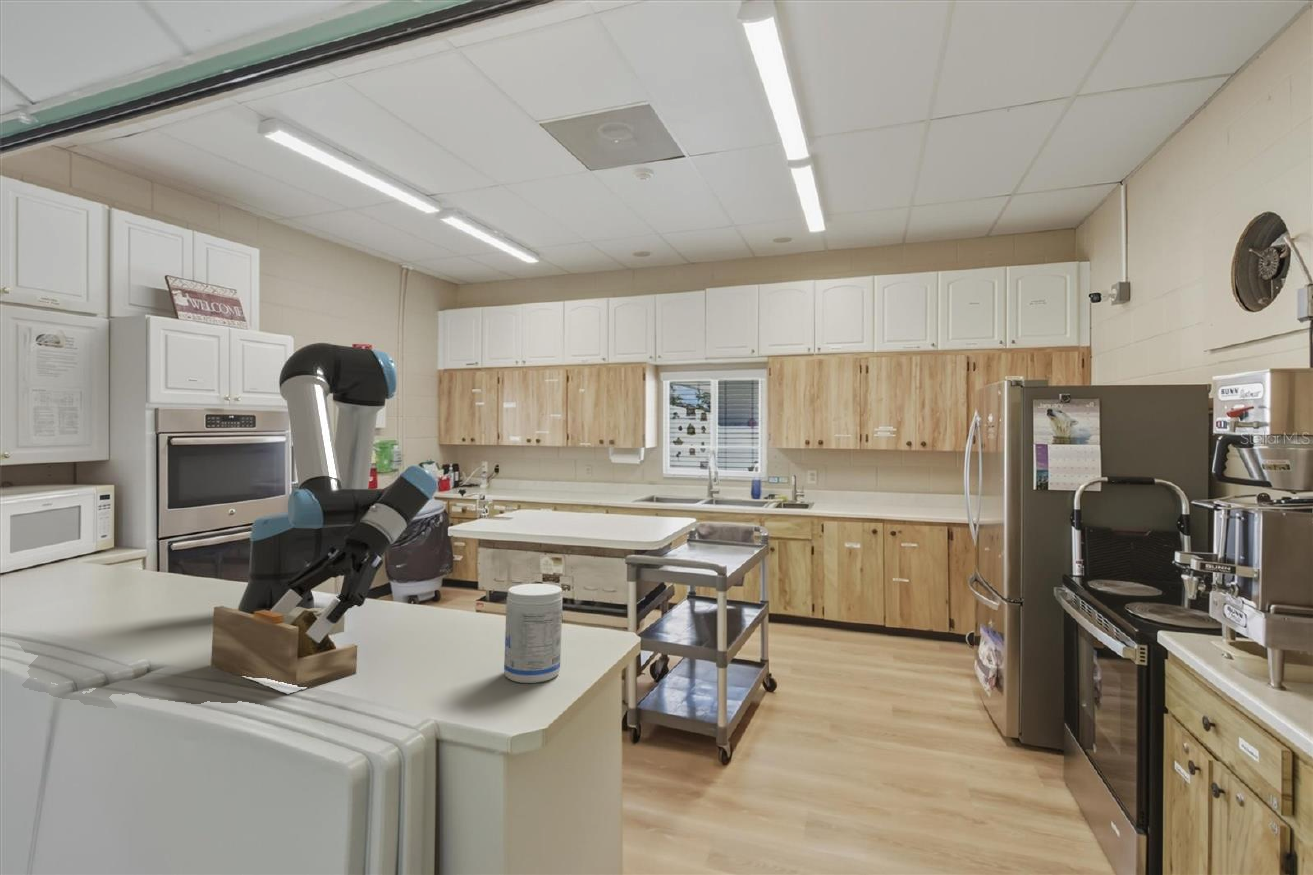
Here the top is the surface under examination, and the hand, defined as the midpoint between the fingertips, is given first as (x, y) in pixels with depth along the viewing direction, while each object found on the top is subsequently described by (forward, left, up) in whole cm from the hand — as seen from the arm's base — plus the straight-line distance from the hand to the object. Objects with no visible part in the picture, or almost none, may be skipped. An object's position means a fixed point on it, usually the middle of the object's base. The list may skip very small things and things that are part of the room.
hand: (288, 631), depth 98 cm
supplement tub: (-23, +33, -8) cm, 41 cm away
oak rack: (-2, -5, -7) cm, 9 cm away
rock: (-2, 0, -6) cm, 7 cm away
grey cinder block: (-17, -27, -8) cm, 33 cm away
